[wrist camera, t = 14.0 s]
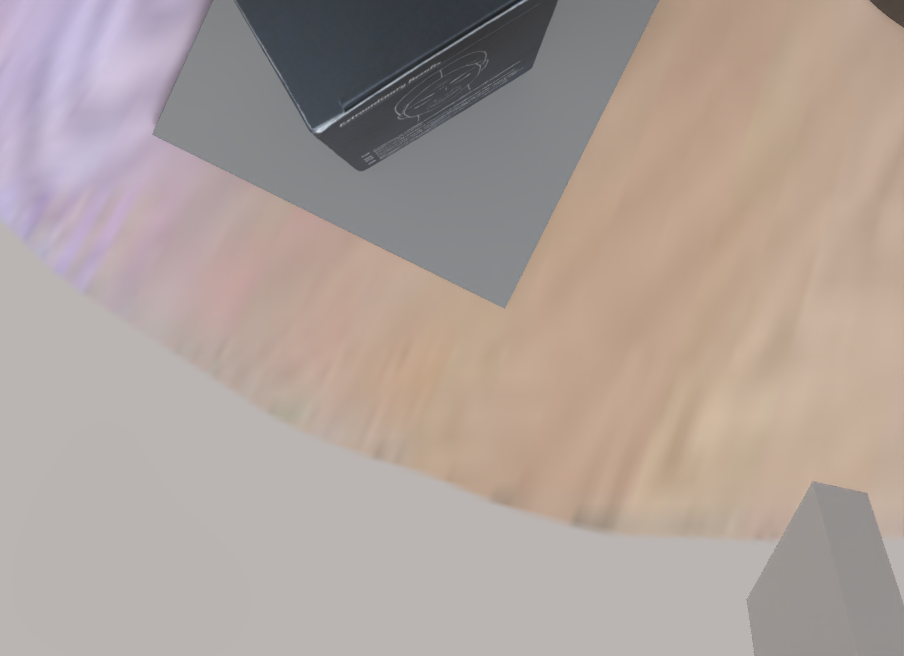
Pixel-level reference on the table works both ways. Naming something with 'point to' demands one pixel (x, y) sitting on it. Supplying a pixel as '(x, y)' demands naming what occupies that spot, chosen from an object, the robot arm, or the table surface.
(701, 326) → the table surface
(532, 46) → the box
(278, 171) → the mat
